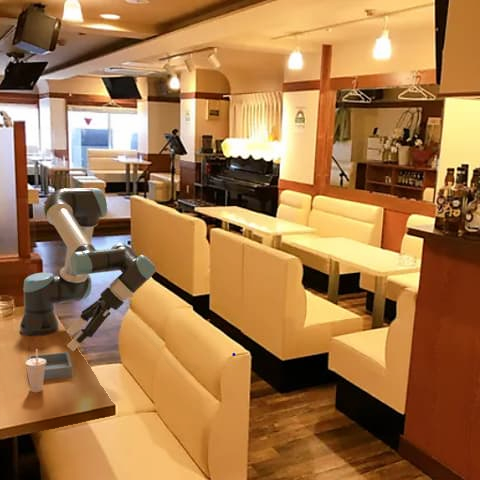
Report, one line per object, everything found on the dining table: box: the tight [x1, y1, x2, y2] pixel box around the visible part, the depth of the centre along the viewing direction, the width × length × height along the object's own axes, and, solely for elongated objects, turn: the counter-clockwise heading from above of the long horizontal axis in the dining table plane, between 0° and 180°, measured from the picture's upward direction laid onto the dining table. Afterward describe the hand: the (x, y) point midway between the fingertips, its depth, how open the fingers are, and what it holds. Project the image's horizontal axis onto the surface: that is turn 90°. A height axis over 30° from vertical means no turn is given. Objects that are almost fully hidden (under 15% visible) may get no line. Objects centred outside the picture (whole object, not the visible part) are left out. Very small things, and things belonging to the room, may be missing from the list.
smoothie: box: [25, 348, 46, 393], centre depth 183 cm, size 6×6×14 cm
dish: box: [27, 351, 73, 381], centre depth 198 cm, size 14×14×4 cm
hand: (69, 340), depth 185 cm, fingers open, 13 cm apart
